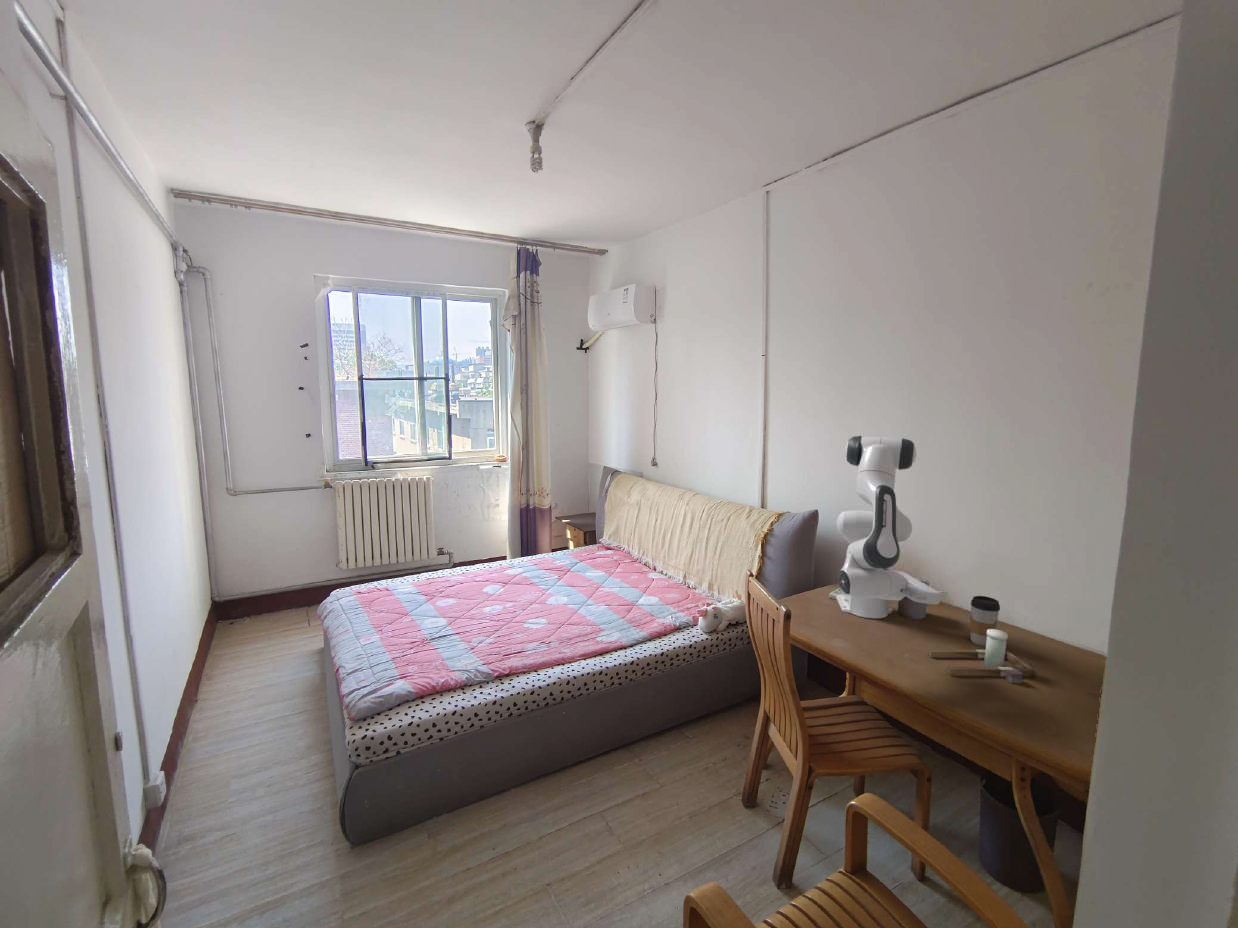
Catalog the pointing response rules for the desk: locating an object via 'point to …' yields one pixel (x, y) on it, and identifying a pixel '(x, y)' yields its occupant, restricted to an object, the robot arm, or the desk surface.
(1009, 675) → the beam slot
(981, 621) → the coffee cup
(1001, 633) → the mint green tumbler
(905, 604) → the pillar candle
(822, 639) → the desk surface
